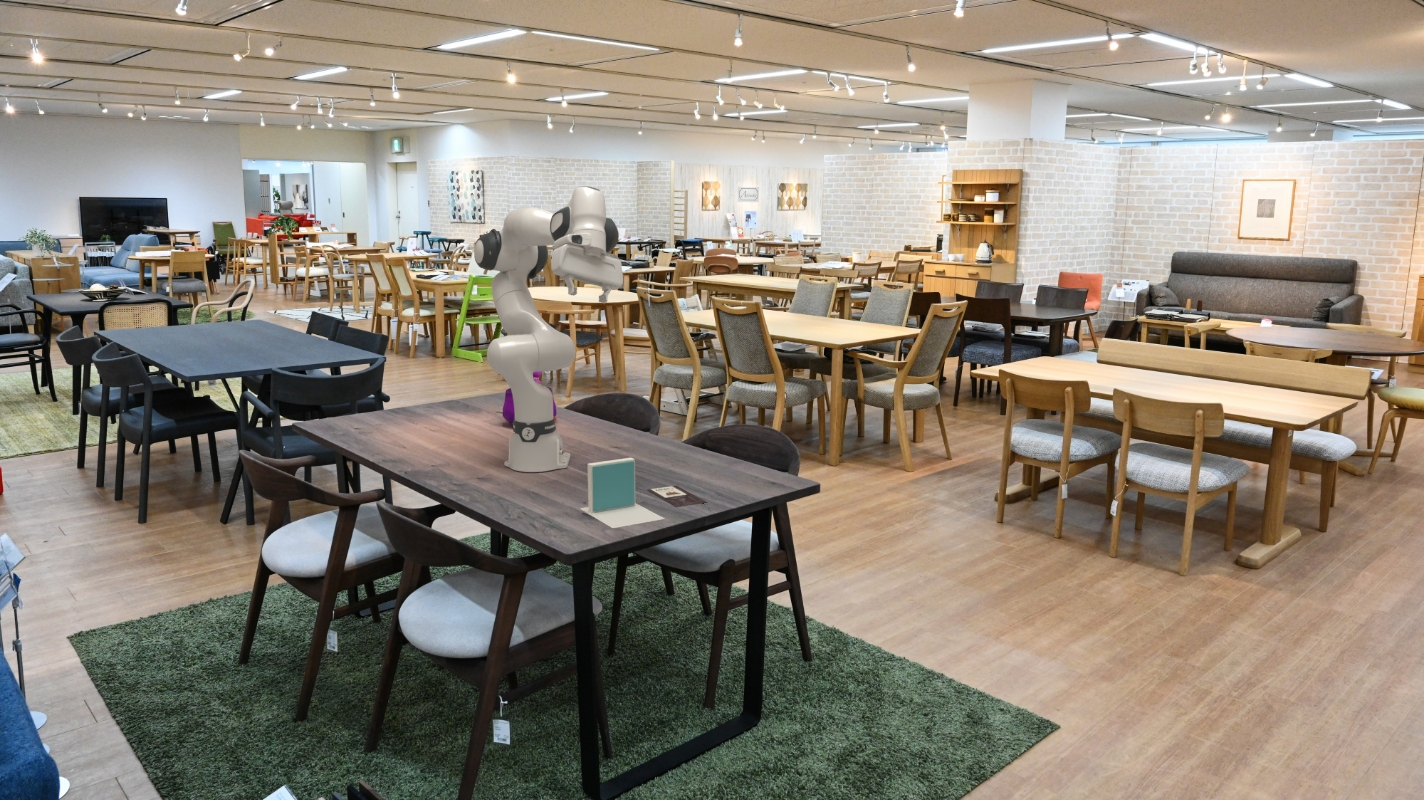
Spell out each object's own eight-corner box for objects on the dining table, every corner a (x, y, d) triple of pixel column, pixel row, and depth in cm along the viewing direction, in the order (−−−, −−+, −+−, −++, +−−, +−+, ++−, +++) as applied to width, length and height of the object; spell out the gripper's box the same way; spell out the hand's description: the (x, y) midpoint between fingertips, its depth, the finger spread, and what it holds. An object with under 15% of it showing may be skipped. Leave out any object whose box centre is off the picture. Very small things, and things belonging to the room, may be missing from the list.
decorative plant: (531, 432, 332) (528, 344, 326) (491, 426, 342) (488, 340, 336) (567, 422, 348) (565, 338, 342) (528, 417, 357) (526, 335, 352)
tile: (588, 510, 242) (587, 463, 240) (631, 503, 248) (631, 457, 246) (592, 513, 240) (591, 465, 238) (636, 505, 246) (635, 459, 244)
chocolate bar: (675, 507, 245) (646, 489, 261) (675, 510, 245) (646, 493, 261) (707, 502, 250) (676, 485, 265) (707, 506, 250) (676, 489, 265)
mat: (579, 510, 244) (579, 508, 244) (629, 502, 251) (629, 500, 251) (612, 530, 229) (612, 528, 229) (665, 520, 236) (665, 518, 236)
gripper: (613, 259, 259) (613, 309, 256) (548, 240, 245) (547, 293, 242) (628, 253, 254) (628, 303, 251) (562, 233, 241) (561, 286, 238)
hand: (588, 298), depth 247 cm, fingers open, 8 cm apart
